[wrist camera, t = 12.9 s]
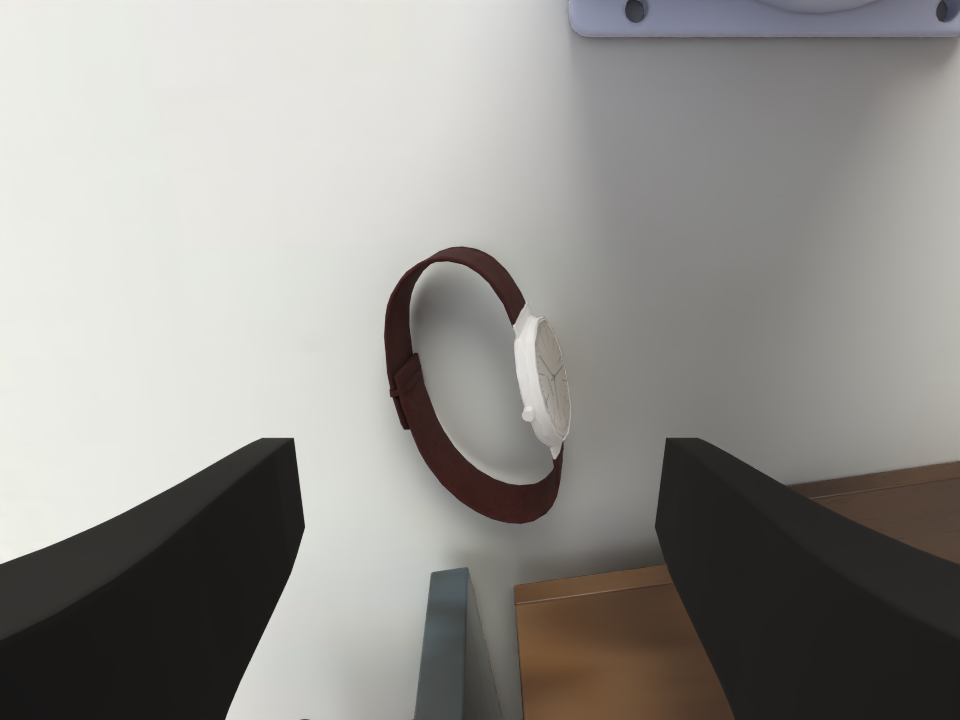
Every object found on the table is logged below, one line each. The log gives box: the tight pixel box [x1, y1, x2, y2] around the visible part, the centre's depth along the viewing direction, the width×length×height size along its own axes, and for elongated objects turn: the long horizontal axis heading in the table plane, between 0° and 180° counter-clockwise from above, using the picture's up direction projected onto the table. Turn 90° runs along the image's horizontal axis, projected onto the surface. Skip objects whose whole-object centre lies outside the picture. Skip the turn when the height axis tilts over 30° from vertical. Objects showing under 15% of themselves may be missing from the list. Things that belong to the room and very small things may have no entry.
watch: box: [384, 247, 571, 524], centre depth 15 cm, size 8×5×4 cm, turn 18°
